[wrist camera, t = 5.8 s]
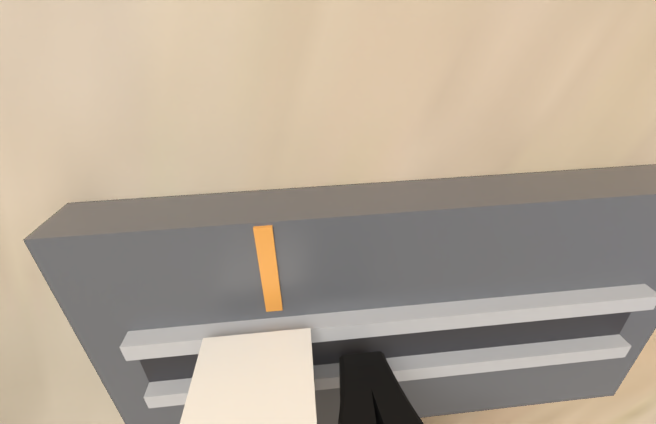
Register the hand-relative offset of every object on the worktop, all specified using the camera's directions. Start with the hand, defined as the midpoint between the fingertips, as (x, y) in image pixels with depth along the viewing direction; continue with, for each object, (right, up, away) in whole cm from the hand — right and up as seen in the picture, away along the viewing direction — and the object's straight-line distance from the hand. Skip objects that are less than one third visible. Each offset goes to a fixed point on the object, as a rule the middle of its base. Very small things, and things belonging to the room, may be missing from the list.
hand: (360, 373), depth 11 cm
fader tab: (-3, 0, +1) cm, 3 cm away
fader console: (+1, +2, +3) cm, 4 cm away
